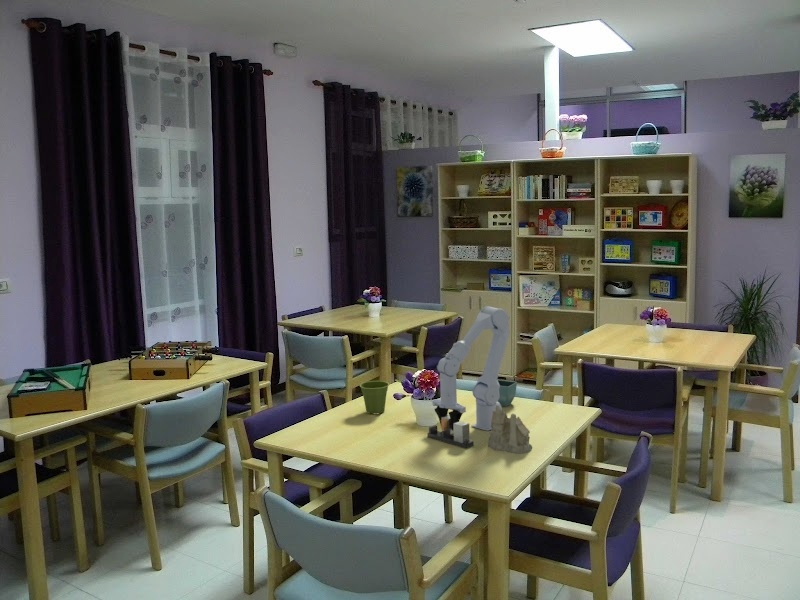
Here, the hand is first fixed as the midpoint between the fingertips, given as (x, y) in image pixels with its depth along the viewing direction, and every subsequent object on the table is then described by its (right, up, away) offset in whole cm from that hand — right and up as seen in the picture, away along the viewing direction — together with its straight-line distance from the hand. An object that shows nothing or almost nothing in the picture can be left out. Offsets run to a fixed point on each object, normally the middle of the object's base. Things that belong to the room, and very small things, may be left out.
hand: (449, 428), depth 257 cm
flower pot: (+24, +3, +35) cm, 43 cm away
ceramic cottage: (+20, -3, -14) cm, 25 cm away
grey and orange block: (0, -2, 0) cm, 2 cm away
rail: (0, -3, -9) cm, 9 cm away
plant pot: (-28, +1, +29) cm, 40 cm away
